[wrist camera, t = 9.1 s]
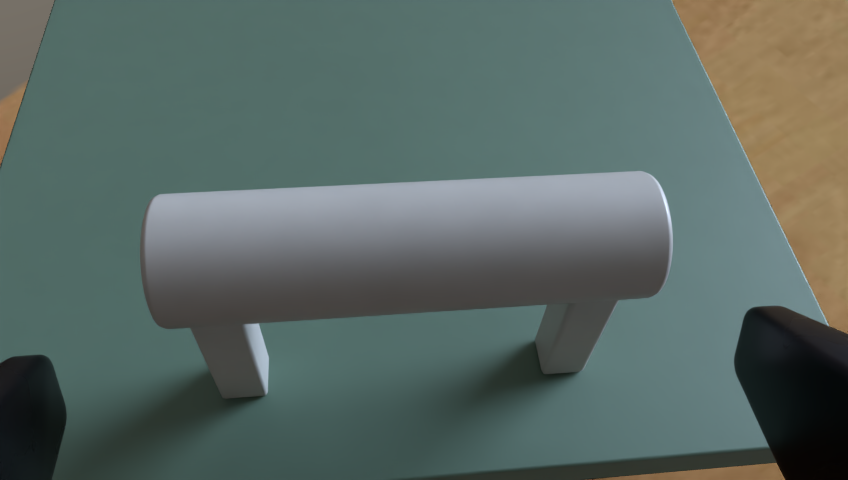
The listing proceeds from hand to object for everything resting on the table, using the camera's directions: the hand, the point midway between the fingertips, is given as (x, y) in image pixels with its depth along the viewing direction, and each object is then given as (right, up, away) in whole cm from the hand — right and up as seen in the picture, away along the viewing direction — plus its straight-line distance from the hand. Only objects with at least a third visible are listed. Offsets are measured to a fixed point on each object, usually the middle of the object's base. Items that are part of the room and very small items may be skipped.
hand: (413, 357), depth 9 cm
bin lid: (-1, +3, +5) cm, 6 cm away
